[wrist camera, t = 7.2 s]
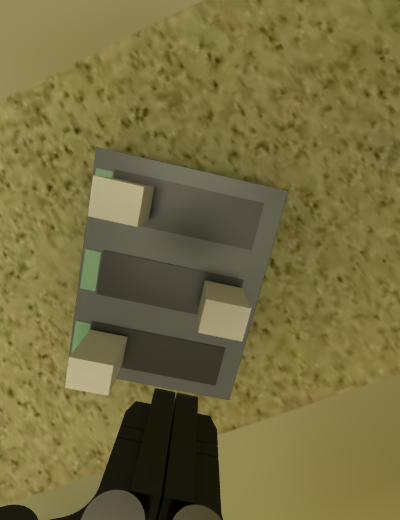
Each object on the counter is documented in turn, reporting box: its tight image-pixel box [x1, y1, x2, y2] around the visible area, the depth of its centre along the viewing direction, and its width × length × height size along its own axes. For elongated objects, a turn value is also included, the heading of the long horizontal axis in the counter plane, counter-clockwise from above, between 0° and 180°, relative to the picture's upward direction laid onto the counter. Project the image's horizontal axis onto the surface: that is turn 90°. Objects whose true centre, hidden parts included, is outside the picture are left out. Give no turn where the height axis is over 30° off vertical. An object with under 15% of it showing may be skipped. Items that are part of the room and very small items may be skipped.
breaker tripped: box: [198, 280, 252, 342], centre depth 21 cm, size 3×2×4 cm
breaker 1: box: [88, 175, 154, 227], centre depth 20 cm, size 3×2×4 cm
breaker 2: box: [65, 330, 127, 396], centre depth 22 cm, size 3×2×4 cm
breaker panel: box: [67, 147, 288, 400], centre depth 25 cm, size 14×18×3 cm
